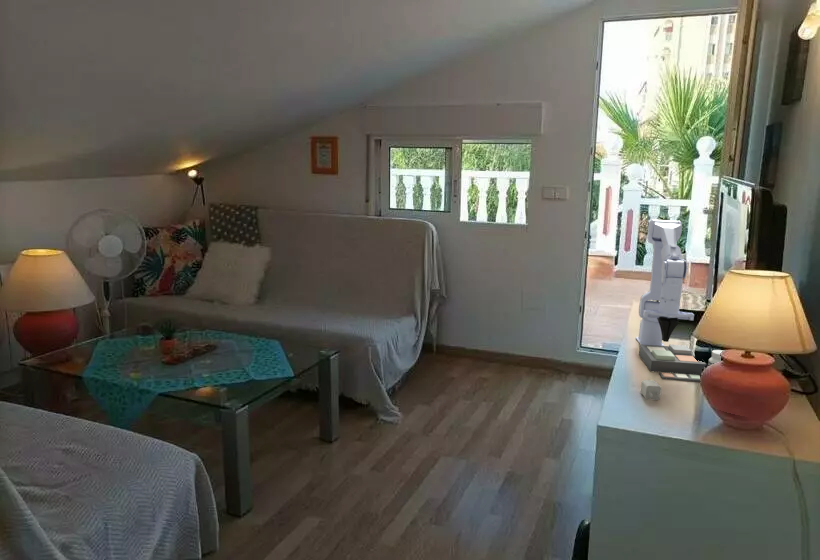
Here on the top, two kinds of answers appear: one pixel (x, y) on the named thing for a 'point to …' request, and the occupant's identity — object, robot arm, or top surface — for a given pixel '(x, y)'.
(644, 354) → the keyguard pad
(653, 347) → the ivory key
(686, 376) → the strip
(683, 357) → the terracotta key
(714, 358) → the pill bottle
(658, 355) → the sage key
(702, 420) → the top surface
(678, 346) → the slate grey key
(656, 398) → the usb wall charger
